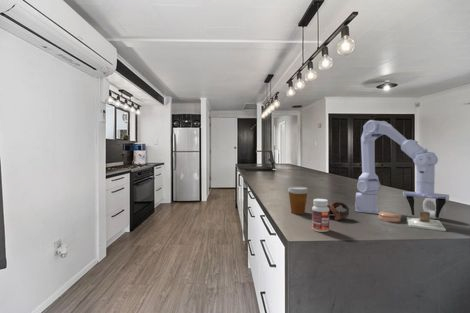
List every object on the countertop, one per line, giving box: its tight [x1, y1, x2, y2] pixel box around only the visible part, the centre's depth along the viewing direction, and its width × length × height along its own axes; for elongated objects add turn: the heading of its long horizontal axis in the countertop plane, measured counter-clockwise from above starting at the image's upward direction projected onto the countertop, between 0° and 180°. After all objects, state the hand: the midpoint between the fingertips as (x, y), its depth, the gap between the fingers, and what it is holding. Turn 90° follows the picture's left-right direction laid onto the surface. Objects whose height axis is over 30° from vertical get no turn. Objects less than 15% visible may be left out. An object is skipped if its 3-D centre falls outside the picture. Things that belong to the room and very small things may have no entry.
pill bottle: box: [311, 198, 330, 233], centre depth 93 cm, size 6×6×11 cm
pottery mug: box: [327, 201, 350, 221], centre depth 110 cm, size 12×10×8 cm
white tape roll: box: [422, 198, 446, 220], centre depth 108 cm, size 10×3×10 cm, turn 3°
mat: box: [406, 216, 447, 232], centre depth 100 cm, size 11×13×1 cm
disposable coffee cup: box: [287, 186, 309, 215], centre depth 119 cm, size 10×10×12 cm
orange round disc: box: [378, 211, 402, 223], centre depth 107 cm, size 9×9×2 cm
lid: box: [411, 210, 440, 226], centre depth 99 cm, size 9×9×4 cm
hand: (424, 216), depth 99 cm, fingers open, 7 cm apart
